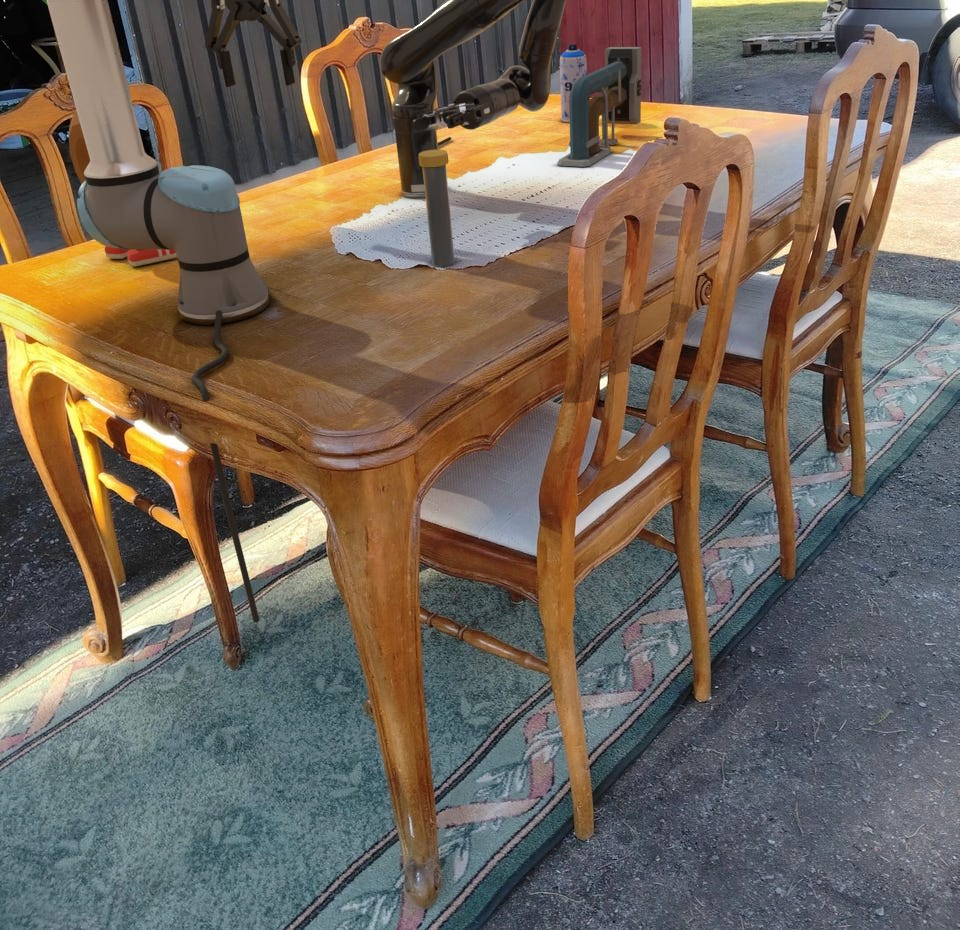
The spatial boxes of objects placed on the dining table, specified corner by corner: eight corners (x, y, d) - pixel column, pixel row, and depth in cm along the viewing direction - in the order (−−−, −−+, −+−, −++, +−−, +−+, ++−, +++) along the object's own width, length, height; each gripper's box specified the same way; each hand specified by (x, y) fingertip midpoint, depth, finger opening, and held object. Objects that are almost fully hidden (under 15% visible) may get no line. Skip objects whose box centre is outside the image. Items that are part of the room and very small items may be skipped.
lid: (454, 161, 170) (453, 150, 169) (438, 168, 166) (437, 157, 165) (429, 159, 172) (428, 148, 172) (413, 166, 169) (412, 155, 168)
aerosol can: (559, 122, 275) (557, 47, 265) (562, 117, 282) (559, 42, 272) (587, 121, 274) (585, 45, 263) (589, 115, 280) (587, 41, 270)
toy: (191, 258, 192) (154, 99, 176) (145, 273, 186) (103, 110, 170) (136, 241, 205) (97, 91, 189) (92, 254, 199) (48, 101, 183)
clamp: (588, 167, 230) (586, 71, 219) (554, 165, 234) (551, 71, 223) (640, 133, 256) (641, 47, 245) (609, 132, 260) (609, 47, 249)
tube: (458, 260, 179) (449, 153, 169) (447, 267, 176) (436, 159, 166) (439, 258, 181) (429, 152, 171) (428, 265, 178) (416, 157, 168)
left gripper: (306, -38, 185) (323, 79, 195) (192, -31, 192) (215, 83, 202) (289, -35, 178) (307, 86, 189) (172, -27, 186) (196, 89, 196)
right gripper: (449, 89, 198) (399, 107, 188) (505, 82, 190) (455, 101, 179) (457, 127, 202) (407, 147, 191) (512, 122, 193) (463, 142, 183)
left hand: (260, 85), depth 196 cm, fingers open, 13 cm apart
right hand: (431, 124), depth 185 cm, fingers open, 8 cm apart
